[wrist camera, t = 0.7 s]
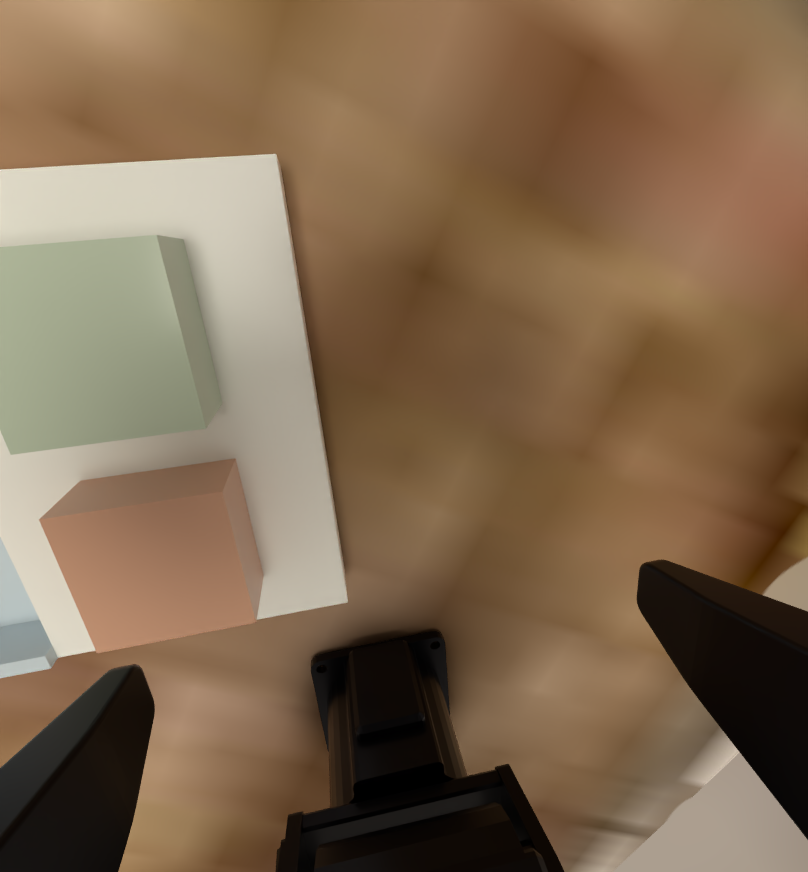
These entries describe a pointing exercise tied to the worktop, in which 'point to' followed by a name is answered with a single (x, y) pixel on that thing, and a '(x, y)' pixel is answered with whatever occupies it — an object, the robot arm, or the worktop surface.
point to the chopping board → (232, 358)
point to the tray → (20, 626)
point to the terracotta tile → (158, 553)
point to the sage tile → (101, 343)
